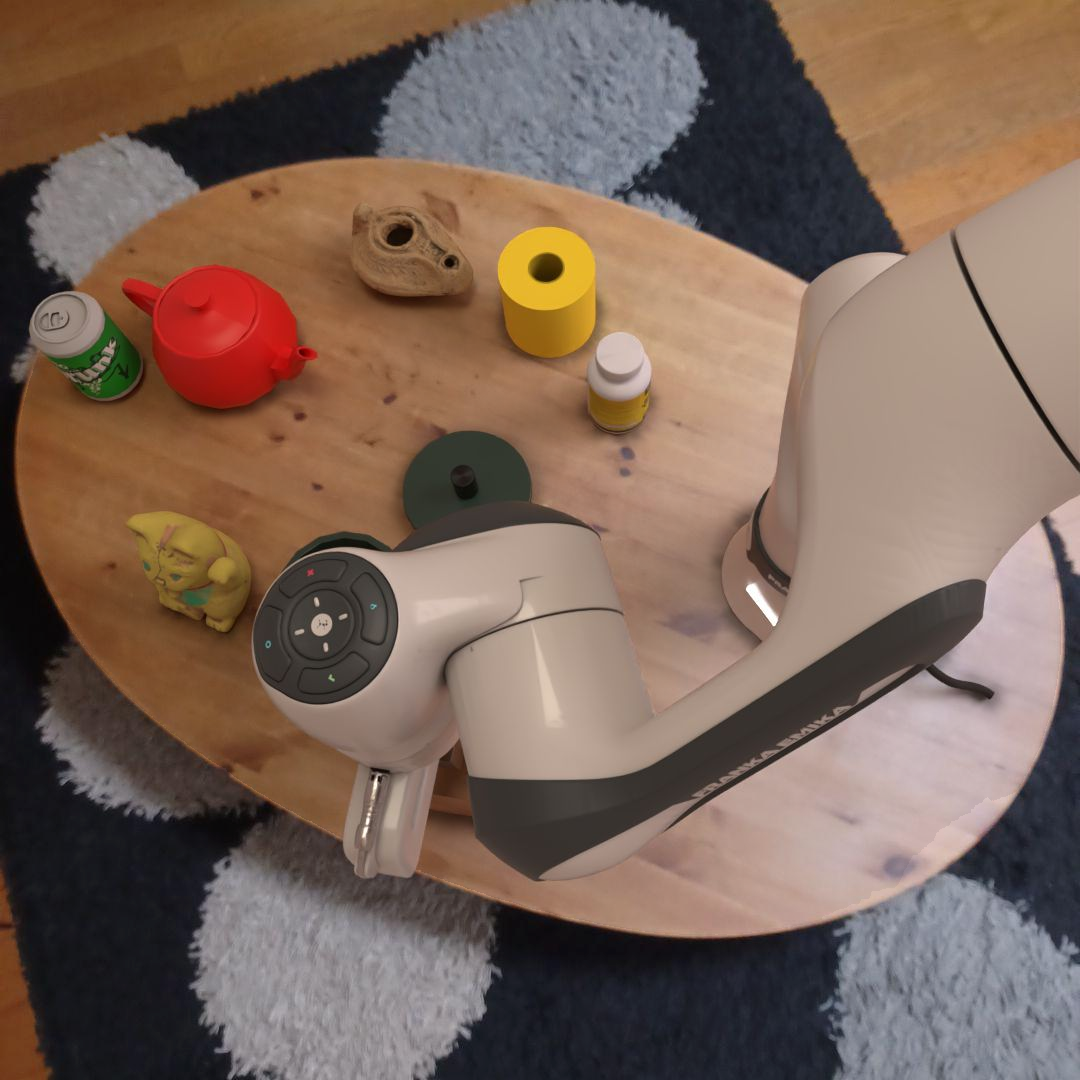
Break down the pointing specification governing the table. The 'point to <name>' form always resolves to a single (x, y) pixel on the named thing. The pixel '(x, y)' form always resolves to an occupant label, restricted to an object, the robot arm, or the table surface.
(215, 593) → the figurine
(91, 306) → the soda can
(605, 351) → the pill bottle
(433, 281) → the oil lamp
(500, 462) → the tin lid
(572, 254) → the yellow cylinder with hole
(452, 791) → the stand
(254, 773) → the table surface
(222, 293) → the teapot
